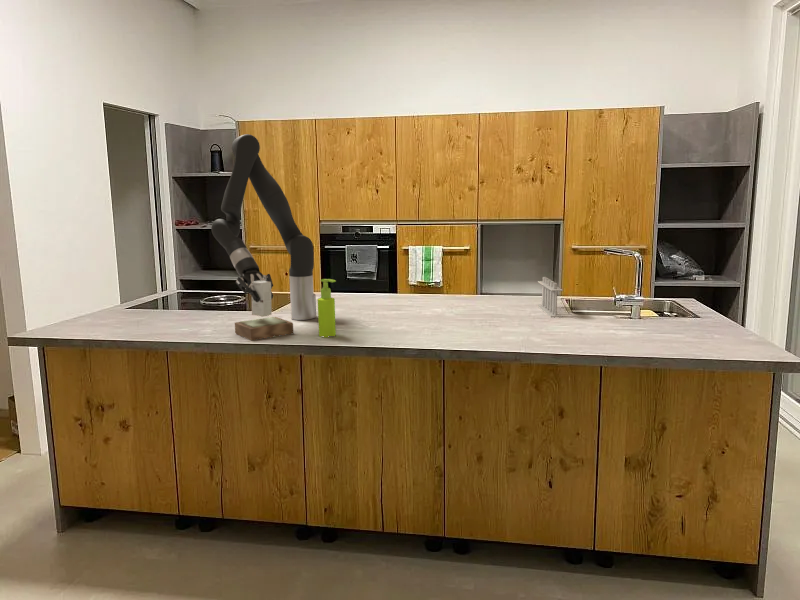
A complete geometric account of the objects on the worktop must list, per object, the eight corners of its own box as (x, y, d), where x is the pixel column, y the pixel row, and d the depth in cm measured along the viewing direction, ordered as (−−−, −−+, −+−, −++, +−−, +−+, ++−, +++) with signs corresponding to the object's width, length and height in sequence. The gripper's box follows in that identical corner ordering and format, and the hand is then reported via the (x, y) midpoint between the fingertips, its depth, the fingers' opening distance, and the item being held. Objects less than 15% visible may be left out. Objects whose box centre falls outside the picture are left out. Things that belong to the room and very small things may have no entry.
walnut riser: (276, 327, 231) (275, 315, 230) (293, 333, 220) (292, 321, 219) (235, 333, 221) (234, 321, 220) (251, 340, 210) (250, 327, 209)
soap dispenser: (331, 338, 211) (329, 280, 208) (315, 336, 215) (313, 279, 211) (341, 335, 216) (339, 278, 213) (325, 333, 220) (323, 277, 216)
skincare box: (251, 315, 219) (249, 281, 217) (260, 313, 223) (258, 280, 221) (263, 316, 216) (262, 282, 214) (273, 314, 219) (271, 281, 217)
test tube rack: (562, 317, 241) (563, 284, 239) (550, 317, 241) (551, 284, 239) (547, 306, 266) (547, 275, 263) (536, 306, 266) (537, 276, 263)
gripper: (230, 257, 216) (251, 295, 210) (264, 254, 226) (285, 290, 220) (223, 271, 220) (243, 309, 214) (257, 268, 230) (277, 303, 224)
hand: (264, 299), depth 217 cm, fingers closed on skincare box, 4 cm apart
